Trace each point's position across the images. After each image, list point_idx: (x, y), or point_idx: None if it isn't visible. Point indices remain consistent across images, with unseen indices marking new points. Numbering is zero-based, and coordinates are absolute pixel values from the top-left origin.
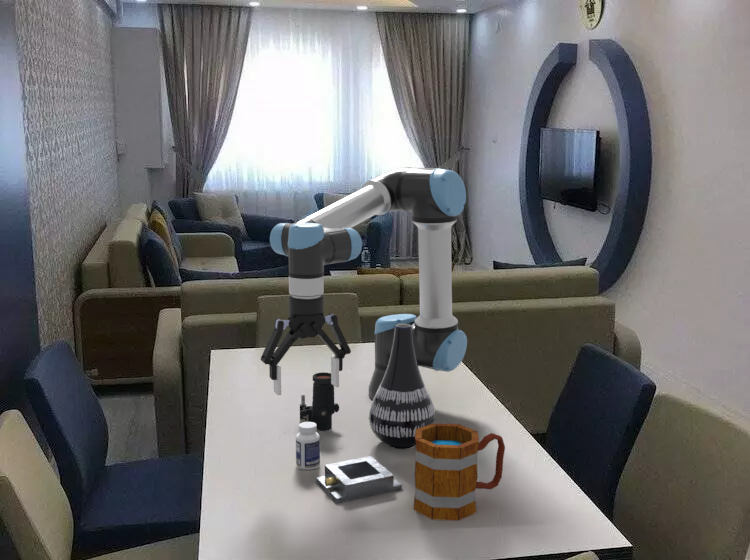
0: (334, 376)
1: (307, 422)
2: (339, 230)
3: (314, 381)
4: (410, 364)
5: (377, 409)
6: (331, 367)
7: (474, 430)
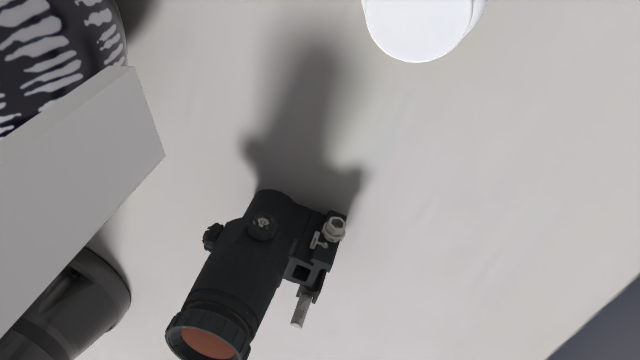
0: (89, 141)
1: (402, 48)
2: None
3: (246, 339)
4: None
5: (30, 37)
6: (73, 247)
7: None
